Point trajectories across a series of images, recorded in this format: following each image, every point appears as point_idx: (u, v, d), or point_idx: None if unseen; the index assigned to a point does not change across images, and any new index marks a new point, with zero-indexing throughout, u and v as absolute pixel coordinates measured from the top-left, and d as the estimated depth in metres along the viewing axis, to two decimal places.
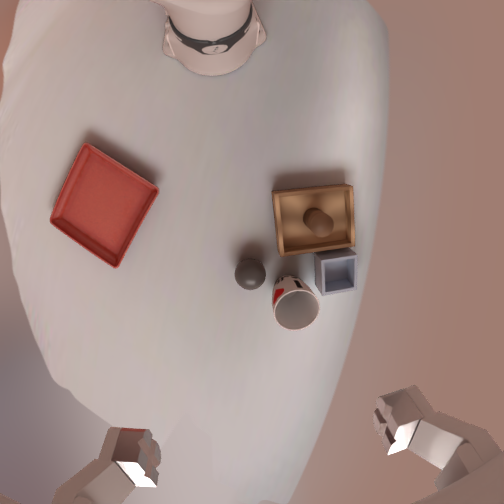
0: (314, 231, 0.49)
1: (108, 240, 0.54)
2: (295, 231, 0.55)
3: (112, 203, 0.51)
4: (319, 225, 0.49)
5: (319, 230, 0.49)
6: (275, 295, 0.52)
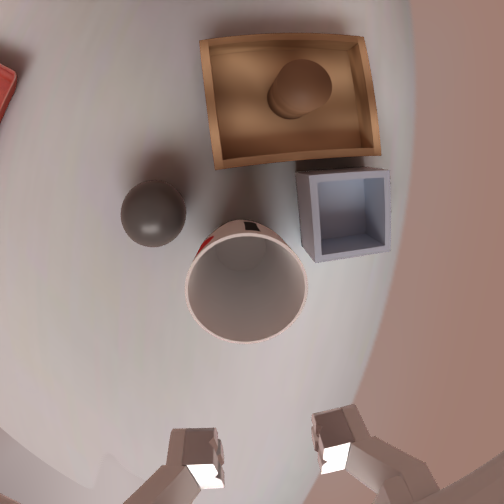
0: (286, 95, 0.19)
1: None
2: (252, 125, 0.25)
3: None
4: (296, 81, 0.18)
5: (298, 94, 0.19)
6: None
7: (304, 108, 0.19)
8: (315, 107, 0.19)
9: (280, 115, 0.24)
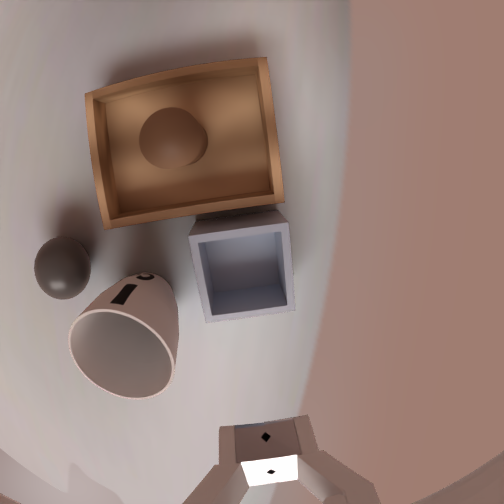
0: (148, 155, 0.17)
1: None
2: (145, 175, 0.23)
3: None
4: (159, 137, 0.17)
5: (161, 151, 0.17)
6: (84, 316, 0.20)
7: (168, 167, 0.18)
8: (180, 164, 0.18)
9: None
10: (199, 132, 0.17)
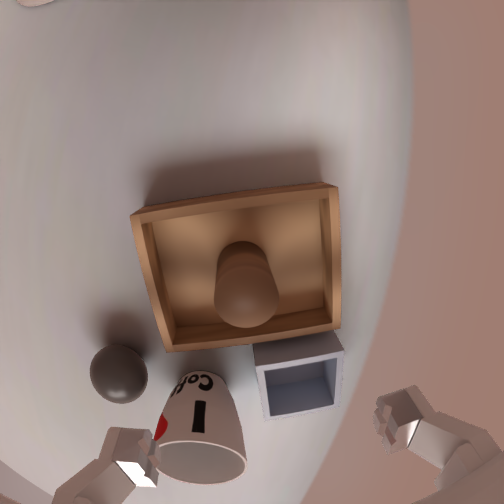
0: (224, 315, 0.18)
1: None
2: (202, 295, 0.24)
3: None
4: (235, 299, 0.18)
5: (238, 312, 0.18)
6: (156, 428, 0.21)
7: (245, 326, 0.19)
8: (258, 324, 0.19)
9: None
10: (277, 295, 0.18)
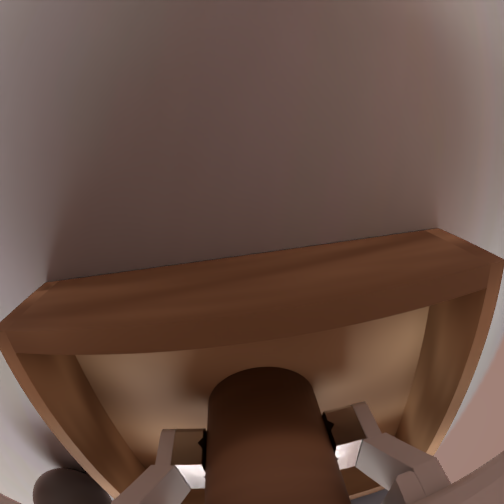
0: None
1: None
2: None
3: None
4: None
5: None
6: None
7: None
8: None
9: None
10: None
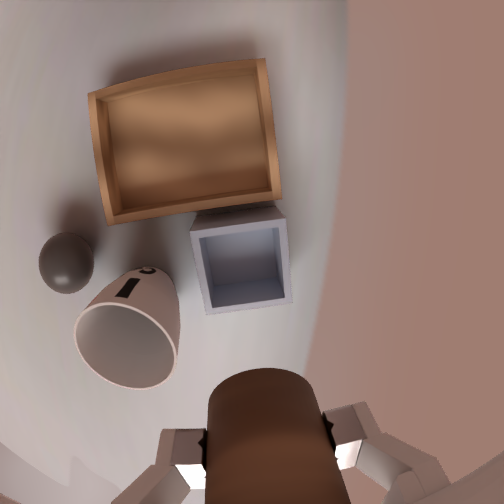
0: None
1: None
2: (147, 173, 0.24)
3: None
4: None
5: None
6: (89, 309, 0.21)
7: None
8: None
9: None
10: None
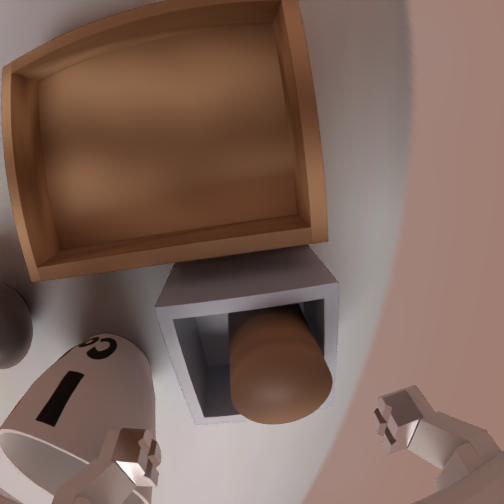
0: (248, 413, 0.11)
1: None
2: (92, 191, 0.13)
3: None
4: (265, 393, 0.11)
5: (269, 408, 0.11)
6: None
7: (279, 422, 0.11)
8: (298, 418, 0.11)
9: None
10: (330, 381, 0.11)
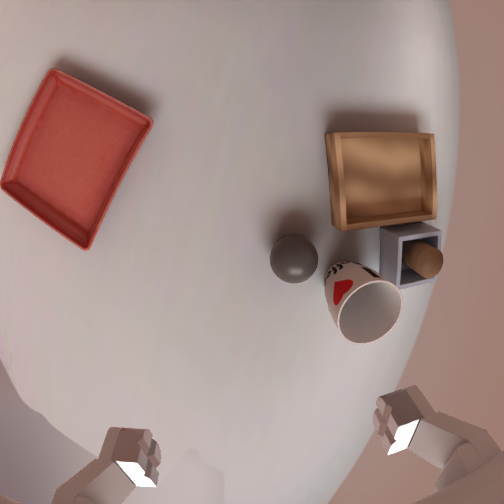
0: (422, 272, 0.33)
1: (77, 208, 0.33)
2: (358, 195, 0.35)
3: (83, 152, 0.31)
4: (428, 263, 0.33)
5: (427, 270, 0.33)
6: (337, 291, 0.32)
7: (429, 277, 0.33)
8: (433, 276, 0.33)
9: None
10: (442, 260, 0.33)
